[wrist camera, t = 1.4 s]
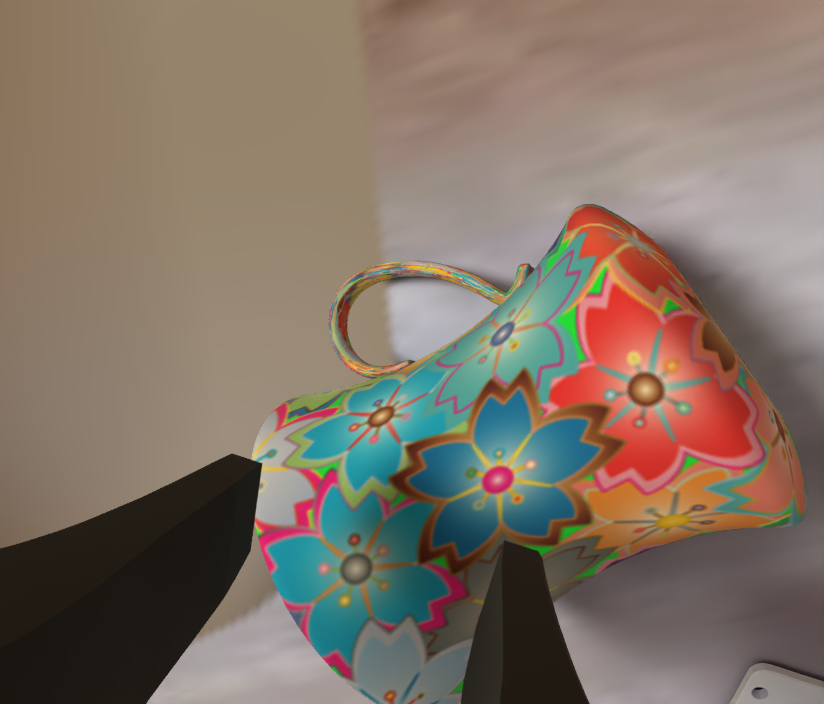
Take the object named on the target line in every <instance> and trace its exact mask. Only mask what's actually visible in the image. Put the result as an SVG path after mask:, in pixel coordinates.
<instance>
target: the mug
mask: <svg viewBox="0 0 824 704" xmlns="http://www.w3.org/2000/svg"><path fill="white" fill-rule="evenodd" d="M407 276H421V277H431V278H437V279H442V280H446V281H450V282H453V283H456V284H459V285H461V286H463V287H465V288H468V289H470V290H472V291H474V292H475V293H477V294H479V295H481V296H483V297H485V298H486V299H488V300H490V301H492V302H494V303H496V304H498V305H500V306H499V307H497V308H496V309H495V310H494V311H493V312H491V313H490V314H489V315H488V316H487V317H486V318H484V319H483V320H482V321H481V322H479V323H478V324H477V325H475V326H474V327H473V328H471V329H470V330H468V331H467V332H466V333H464V334H463V335H461V336H460V337H458V338H457V339H455V340H454V341H452V342H450V343H449V344H447V345H445V346H444V347H442V348H440V349H439V350H437V351H435V352H433V353H431V354H429V355H428V356H426V357H424V358H422V359H420V360H418V361H416V362H415V361H412V360H407V361H404V362H402V363H399V364H396V365H391V366H373V365H370V364H368V363H366V362H364V361H363V360H362V359H361V358H360V357H359V356H358V355H357V354H356V353H355V351H354V350H353V348H352V346H351V344H350V341H349V337H348V331H347V321H348V315H349V311H350V309H351V306H352V304H353V302H354V301H355V299H356V298H357V297H358V295H359V294H360V293H361V292H362V291H364V290H365V289H367V288H368V287H370V286H371V285H374V284H376V283H378V282H381V281H384V280H388V279H392V278H398V277H407ZM329 333H330V338H331V342H332V345H333V348H334V350H335V352H336V354H337V355H338V357H339V358H340V360H341V361H342V362H343V363H344V364H345V365H346V366H347V367H349V368H350V369H351V370H353V371H354V372H356V373H358V374H360V375H362V376H364V377H367V378H371V379H372V380H369V381H366V382H363V383H359V384H356V385H352V386H348V387H344V388H340V389H335V390H331V391H326V392H321V393H314V394H307V395H302V396H298V397H295V398H292V399H290V400H288V401H286V402H284V403H283V404H281V405H280V406H279V407H278V408H276V409H275V410H274V411H273V412H272V413H271V414H270V416H269V417H268V418H267V419H266V421H265V423H264V425H263V426H262V428H261V429H260V432H259V434H258V436H257V439H256V442H255V446H254V449H253V453H252V460H254V461H257V462H260V463H263V464H262V471H261V478H260V485H259V492H258V500H257V507H256V514H255V521H254V522H255V526H256V531H257V535H258V538H259V542H260V546H261V549H262V552H263V555H264V558H265V560H266V563H267V566H268V569H269V571H270V574H271V576H272V578H273V581H274V583H275V585H276V587H277V590H278V592H279V593H280V595H281V597H282V599H283V601H284V603H285V605H286V607H287V609H288V610H289V612H290V614H291V615H292V617H293V619H294V620H295V622H296V624H297V625H298V627H299V628H300V630H301V631H302V632H303V634H304V635H305V637H306V638H307V640H308V641H309V642H310V644H311V645H312V646H313V647H314V649H315V650H316V651H317V652H318V654H319V655H320V656H321V657H322V658H323V659H324V660H325V662H326V663H327V664H328V665H329V666H330V667H331V668H332V669H333V670H334V671H335V672H336V673H337V674H338V675H339V676H340V677H341V678H342V679H343V680H345V681H346V682H347V683H348V684H349V685H350V686H352V687H353V688H354V689H355V690H357V691H358V692H359V693H361V694H362V695H364V696H365V697H367V698H368V699H370V700H372V701H373V702H375V703H377V704H459V703H460V702H461V697H462V689H463V681H464V677H465V672H466V668H467V663H468V659H469V655H470V650H471V646H472V642H473V638H474V633H475V629H476V625H477V622H478V619H479V616H480V613H481V610H482V607H483V604H484V601H485V598H486V594H487V591H488V588H489V585H490V582H491V579H492V576H493V573H494V570H495V567H496V564H497V560H498V557H499V554H500V551H501V548H502V545H503V542H504V540H505V541H508V542H511V543H515V544H518V545H521V546H524V547H527V548H530V549H533V550H537V551H539V553H540V555H541V557H542V558H543V564H544V569H545V574H546V579H547V583H548V587H549V591H550V595H551V598H552V602H553V603H554V602H555V601H556V600H557V599H559V598H560V597H561V596H563V595H564V594H566V593H567V592H569V591H570V590H572V589H573V588H575V587H576V586H578V585H579V584H581V583H582V582H584V581H586V580H587V579H589V578H590V577H592V576H594V575H596V574H597V573H599V572H601V571H603V570H605V569H606V568H608V567H610V566H612V565H614V564H616V563H618V562H620V561H623V560H625V559H627V558H629V557H632V556H634V555H637V554H639V553H642V552H644V551H647V550H649V549H652V548H655V547H658V546H661V545H664V544H667V543H670V542H674V541H677V540H681V539H685V538H689V537H693V536H697V535H702V534H707V533H712V532H718V531H725V530H732V529H743V528H761V527H778V528H787V527H792V526H795V525H797V524H798V523H799V522H800V521H802V519H803V517H804V515H805V513H806V509H807V496H806V489H805V482H804V477H803V473H802V469H801V464H800V460H799V457H798V454H797V451H796V448H795V445H794V442H793V440H792V437H791V435H790V433H789V431H788V429H787V426H786V424H785V422H784V420H783V418H782V417H781V415H780V414H779V412H778V411H777V409H776V408H775V406H774V405H773V403H772V402H771V400H770V399H769V398H768V396H767V395H766V393H765V392H764V390H763V389H762V387H761V386H760V385H759V383H758V382H757V380H756V379H755V377H754V376H753V375H752V373H751V372H750V370H749V369H748V367H747V366H746V365H745V363H744V362H743V360H742V359H741V358H740V356H739V355H738V353H737V352H736V350H735V349H734V348H733V346H732V345H731V343H730V342H729V341H728V339H727V338H726V336H725V335H724V333H723V332H722V331H721V329H720V328H719V326H718V325H717V324H716V322H715V321H714V319H713V318H712V317H711V315H710V314H709V312H708V311H707V310H706V308H705V307H704V305H703V304H702V303H701V301H700V300H699V298H698V297H697V296H696V294H695V293H694V291H693V290H692V289H691V287H690V286H689V285H688V283H687V282H686V280H685V279H684V278H683V276H682V275H681V273H680V272H679V271H678V269H677V268H676V267H675V265H674V264H673V263H672V261H671V260H670V258H669V257H668V256H667V254H666V253H665V252H664V251H663V250H662V249H661V248H660V247H659V246H658V245H657V244H656V243H655V242H654V241H653V240H652V239H651V238H650V237H648V236H647V235H646V234H645V233H643V232H642V231H641V230H640V229H638V228H637V227H636V226H634V225H633V224H631V223H629V222H628V221H626V220H625V219H623V218H622V217H620V216H619V215H617V214H615V213H613V212H611V211H609V210H607V209H605V208H603V207H601V206H597V205H594V204H585V205H581V206H579V207H576V208H575V209H574V210H573V212H572V213H571V214H570V216H569V218H568V220H567V222H566V224H565V226H564V228H563V229H562V231H561V233H560V234H559V236H558V238H557V239H556V241H555V242H554V244H553V245H552V247H551V248H550V250H549V251H548V253H547V254H546V255H545V257H544V258H543V259H542V260H541V262H540V263H539V264H538V266H537V267H536V268H535V269H534V268H533V267H531V266H530V264H521V265H520V266H519V267H518V270H517V274H516V278H515V281H514V283H513V285H512V287H511V288H510V290H509V291H508V292H507V293H506V292H504V291H502V290H500V289H499V288H497V287H495V286H494V285H492V284H490V283H489V282H487V281H485V280H483V279H481V278H479V277H477V276H475V275H473V274H471V273H469V272H466V271H463V270H461V269H458V268H455V267H451V266H448V265H443V264H439V263H433V262H426V261H396V262H389V263H383V264H379V265H375V266H372V267H370V268H367V269H365V270H363V271H361V272H359V273H357V274H355V275H354V276H353V277H351V278H350V279H349V280H348V281H346V282H345V283H344V284H343V285H342V287H341V288H340V289H339V291H338V292H337V294H336V295H335V298H334V300H333V302H332V305H331V309H330V314H329Z"/></svg>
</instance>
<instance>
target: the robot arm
mask: <svg viewBox="0 0 824 704" xmlns="http://www.w3.org/2000/svg"><path fill="white" fill-rule="evenodd" d="M262 464H263V463H260V462H257V461H254V460H251V459H247V458H244V457H241V456H238V455H235V454H230V455H228V456H226V457H224V458H222V459H219V460H217V461H215V462H213V463H211V464H209V465H207V466H205V467H203V468H201V469H199V470H197V471H195V472H193V473H191V474H189V475H187V476H185V477H183V478H181V479H179V480H177V481H175V482H173V483H171V484H169V485H167V486H164V487H162V488H160V489H158V490H156V491H154V492H152V493H150V494H148V495H146V496H144V497H142V498H139V499H137V500H134V501H132V502H130V503H127V504H125V505H123V506H120V507H118V508H116V509H113V510H111V511H108V512H106V513H104V514H101V515H99V516H96V517H94V518H92V519H89V520H87V521H84V522H82V523H79V524H76V525H74V526H71V527H68V528H65V529H63V530H60V531H57V532H54V533H51V534H48V535H45V536H42V537H38V538H36V539H32V540H29V541H26V542H23V543H20V544H16V545H12V546H9V547H5V548H1V549H0V704H146V703H147V702H148V700H149V699H150V697H151V696H152V695H153V693H154V692H155V691H156V689H157V688H158V687H159V685H160V684H161V683H162V681H163V680H164V679H165V677H166V676H167V675H168V673H169V672H170V670H171V669H172V668H173V666H174V665H175V664H176V662H177V661H178V660H179V658H180V657H181V656H182V654H183V653H184V652H185V650H186V649H187V648H188V646H189V645H190V644H191V642H192V641H193V640H194V638H195V637H196V635H197V634H198V633H199V632H200V630H201V629H202V627H203V626H204V625H205V623H206V622H207V621H208V619H209V618H210V617H211V615H212V614H213V613H214V611H215V610H216V608H217V607H218V605H219V604H220V603H221V601H222V600H223V599H224V597H225V595H226V594H227V592H228V590H229V589H230V587H231V585H232V583H233V582H234V580H235V578H236V576H237V575H238V573H239V571H240V569H241V567H242V565H243V564H244V562H245V560H246V558H247V556H248V554H249V552H250V550H251V542H252V536H253V528H254V521H255V514H256V507H257V500H258V492H259V485H260V478H261V471H262ZM757 687H762V688H763V689H761V690H754V688H757ZM461 704H589V701H588V699H587V697H586V694H585V692H584V690H583V687H582V685H581V682H580V680H579V678H578V675H577V673H576V670H575V668H574V665H573V662H572V660H571V657H570V654H569V652H568V649H567V646H566V643H565V640H564V637H563V634H562V631H561V628H560V625H559V622H558V619H557V616H556V613H555V609H554V606H553V602H552V598H551V595H550V591H549V587H548V583H547V579H546V574H545V569H544V564H543V558H542V557H541V555H540V553H539V551H537V550H533V549H530V548H527V547H524V546H521V545H518V544H515V543H511V542H508V541H505V540H504V542H503V545H502V548H501V551H500V554H499V557H498V560H497V564H496V567H495V570H494V573H493V576H492V579H491V582H490V585H489V588H488V591H487V594H486V598H485V601H484V604H483V607H482V610H481V613H480V616H479V619H478V622H477V625H476V629H475V633H474V638H473V642H472V646H471V650H470V655H469V659H468V663H467V668H466V672H465V677H464V681H463V689H462V697H461ZM730 704H824V682H823V681H820V680H817V679H814V678H811V677H808V676H805V675H802V674H799V673H796V672H793V671H790V670H787V669H784V668H780V667H777V666H774V665H771V664H767V663H758V664H755V665H753V666H751V667H750V668H749V670H748V671H747V673H746V675H745V677H744V678H743V680H742V682H741V684H740V686H739V687H738V689H737V691H736V693H735V695H734V696H733V698H732V700H731V702H730Z"/></svg>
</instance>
